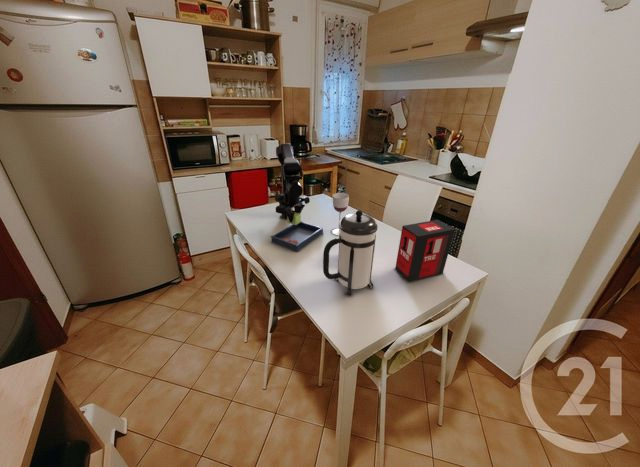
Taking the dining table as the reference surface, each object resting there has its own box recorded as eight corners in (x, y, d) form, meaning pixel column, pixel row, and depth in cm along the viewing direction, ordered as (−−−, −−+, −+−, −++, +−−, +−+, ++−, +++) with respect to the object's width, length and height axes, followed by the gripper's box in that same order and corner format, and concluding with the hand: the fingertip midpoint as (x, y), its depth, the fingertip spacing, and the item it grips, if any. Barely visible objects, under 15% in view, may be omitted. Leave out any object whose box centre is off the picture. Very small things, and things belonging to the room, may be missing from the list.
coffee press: (340, 267, 109) (343, 199, 95) (377, 277, 103) (387, 206, 89) (322, 292, 95) (322, 216, 81) (364, 306, 89) (373, 227, 75)
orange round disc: (292, 241, 126) (292, 239, 126) (299, 243, 124) (299, 241, 124) (287, 245, 123) (287, 243, 123) (294, 247, 121) (294, 245, 121)
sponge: (292, 219, 129) (292, 211, 127) (300, 222, 127) (300, 213, 125) (287, 222, 126) (286, 214, 124) (295, 225, 124) (295, 216, 122)
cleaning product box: (408, 282, 100) (418, 236, 91) (395, 269, 108) (402, 225, 99) (442, 273, 106) (455, 229, 96) (427, 261, 113) (437, 219, 104)
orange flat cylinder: (285, 238, 128) (285, 237, 128) (292, 241, 127) (292, 239, 126) (280, 242, 126) (280, 240, 125) (286, 244, 124) (286, 242, 123)
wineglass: (329, 234, 135) (330, 197, 125) (334, 227, 142) (336, 191, 132) (344, 237, 132) (346, 199, 123) (349, 229, 139) (351, 194, 130)
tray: (298, 226, 143) (298, 220, 141) (322, 233, 135) (323, 227, 134) (271, 242, 127) (271, 236, 125) (297, 251, 119) (297, 245, 118)
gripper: (291, 181, 129) (292, 210, 137) (265, 192, 116) (268, 223, 123) (310, 185, 124) (310, 215, 132) (284, 197, 110) (286, 230, 118)
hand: (293, 220), depth 126 cm, fingers closed on sponge, 4 cm apart
